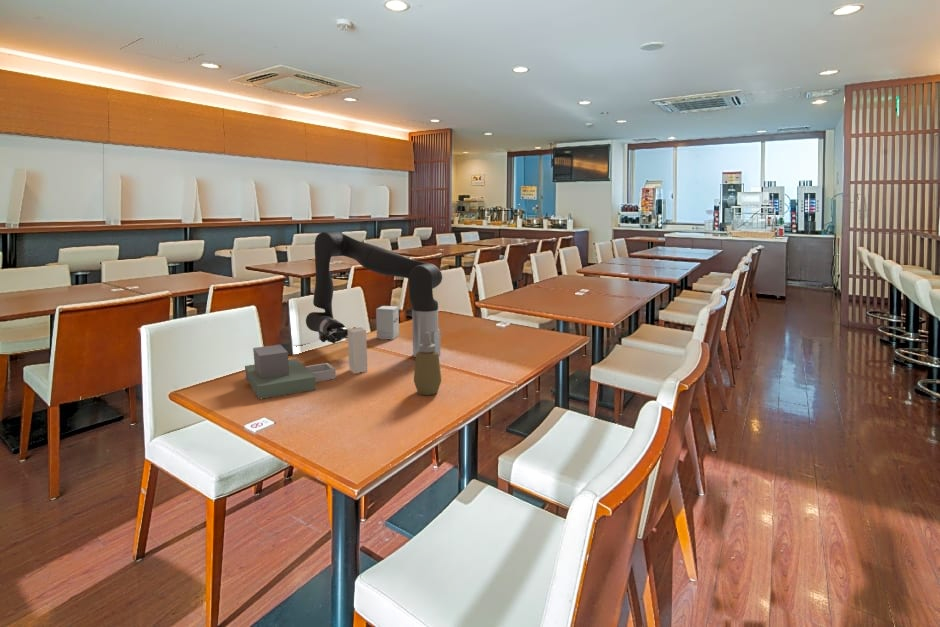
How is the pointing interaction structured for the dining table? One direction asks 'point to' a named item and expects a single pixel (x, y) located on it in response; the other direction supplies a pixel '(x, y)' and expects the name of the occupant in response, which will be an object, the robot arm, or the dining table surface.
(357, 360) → the tall white pillar block
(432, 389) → the squeeze bottle
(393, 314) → the supplement box
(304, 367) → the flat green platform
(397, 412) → the dining table surface
